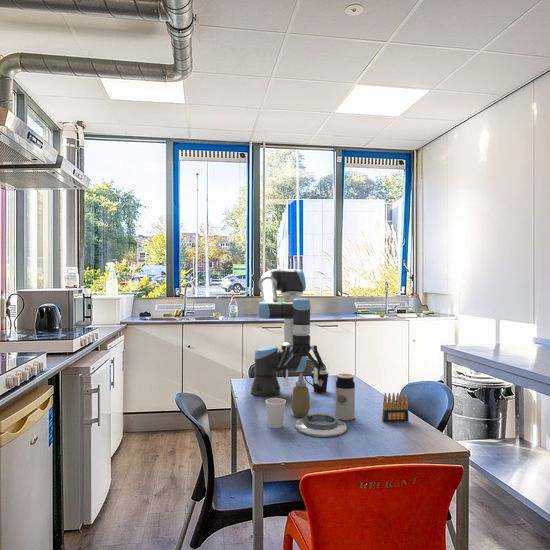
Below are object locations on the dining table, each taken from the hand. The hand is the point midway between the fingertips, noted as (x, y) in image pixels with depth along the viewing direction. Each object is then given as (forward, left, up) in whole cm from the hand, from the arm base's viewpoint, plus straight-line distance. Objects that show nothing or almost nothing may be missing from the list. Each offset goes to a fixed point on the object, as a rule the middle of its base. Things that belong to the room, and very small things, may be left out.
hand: (301, 384), depth 187 cm
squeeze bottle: (0, 0, -14) cm, 14 cm away
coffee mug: (-36, +23, -14) cm, 45 cm away
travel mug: (+8, +17, -14) cm, 23 cm away
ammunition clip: (+18, +35, -14) cm, 42 cm away
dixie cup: (+9, -14, -14) cm, 22 cm away
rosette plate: (+17, +2, -13) cm, 21 cm away
